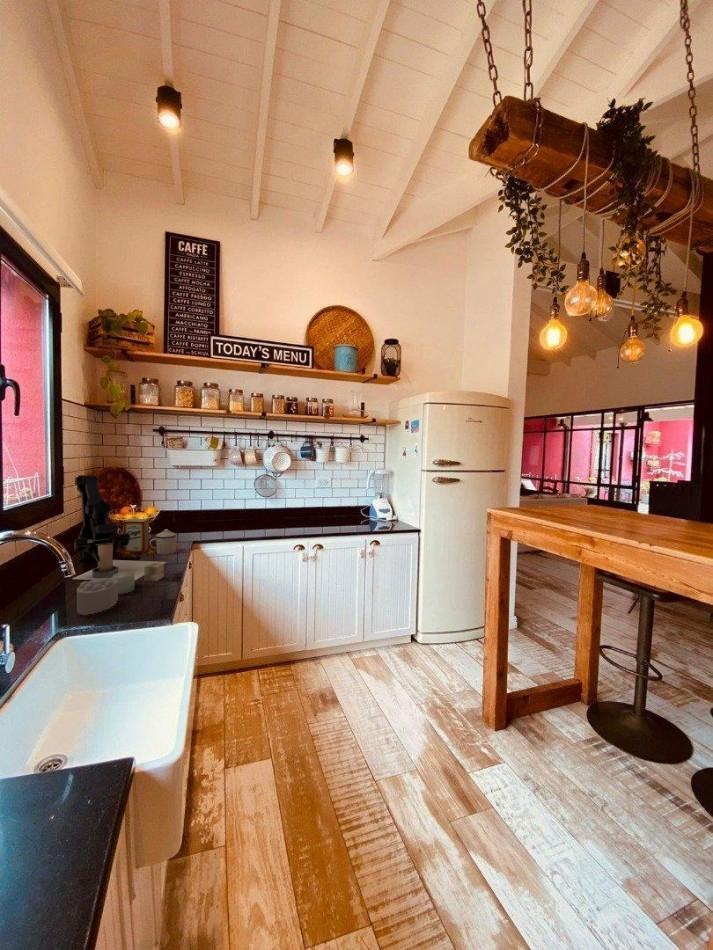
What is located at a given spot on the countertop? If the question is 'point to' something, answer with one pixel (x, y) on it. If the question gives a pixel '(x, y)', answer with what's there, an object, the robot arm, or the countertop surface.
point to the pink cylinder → (105, 557)
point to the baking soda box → (137, 535)
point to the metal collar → (104, 573)
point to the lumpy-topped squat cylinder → (96, 595)
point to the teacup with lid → (165, 542)
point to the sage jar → (125, 582)
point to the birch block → (153, 571)
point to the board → (122, 569)
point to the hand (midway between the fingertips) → (106, 560)
